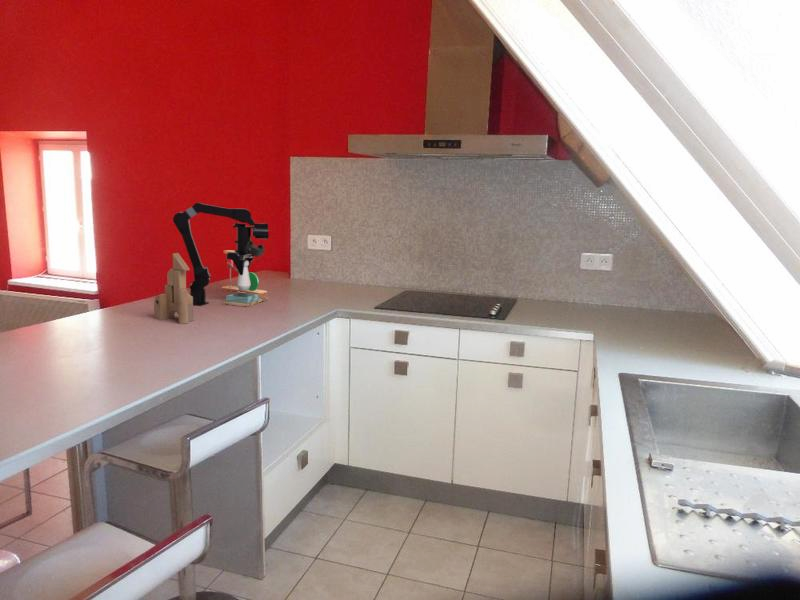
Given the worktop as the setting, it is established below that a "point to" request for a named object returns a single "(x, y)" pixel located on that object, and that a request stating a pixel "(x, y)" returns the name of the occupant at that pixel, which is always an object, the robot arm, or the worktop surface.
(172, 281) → the wooden toy
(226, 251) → the crank mechanism
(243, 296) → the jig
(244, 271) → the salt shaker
